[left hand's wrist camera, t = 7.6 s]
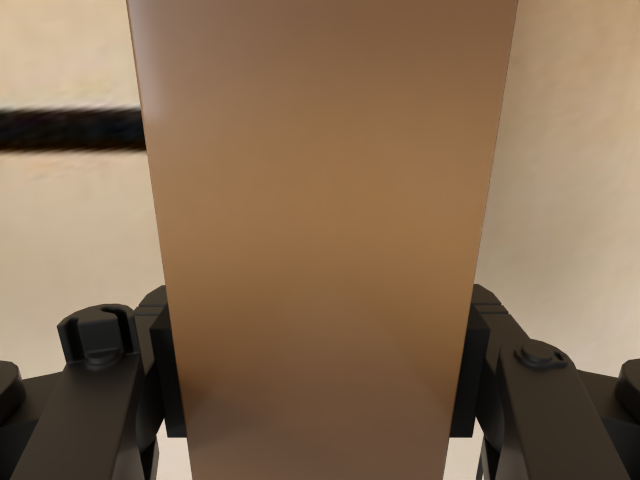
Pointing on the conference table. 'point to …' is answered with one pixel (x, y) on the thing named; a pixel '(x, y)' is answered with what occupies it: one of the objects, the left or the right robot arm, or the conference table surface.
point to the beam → (320, 222)
